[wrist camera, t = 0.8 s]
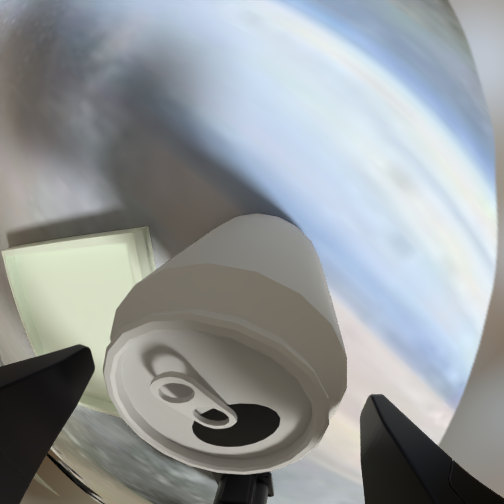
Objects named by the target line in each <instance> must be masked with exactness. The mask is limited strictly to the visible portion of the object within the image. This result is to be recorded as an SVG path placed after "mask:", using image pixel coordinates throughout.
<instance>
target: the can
mask: <svg viewBox="0 0 504 504" xmlns="http://www.w3.org/2000/svg"><path fill="white" fill-rule="evenodd" d="M110 340H111V342H110V344H109V345H108V346H107V348H106V353H105V359H104V364H103V375H104V379H105V383H106V388H107V392H108V395H109V397H110V399H111V401H112V402H113V404H114V406H115V408H116V409H117V411H118V413H119V414H120V416H121V418H122V419H123V420H124V421H125V422H126V423H127V424H128V425H129V426H130V427H131V428H132V429H133V431H134V432H135V433H136V434H137V435H138V436H139V437H140V438H142V439H143V440H144V441H146V442H147V443H149V444H150V445H152V446H153V447H154V448H156V449H157V450H159V451H160V452H162V453H163V454H165V455H167V456H169V457H172V458H174V459H176V460H178V461H180V462H183V463H185V464H187V465H190V466H193V467H197V468H200V469H204V470H208V471H212V472H217V473H227V474H244V475H246V474H255V473H262V472H269V471H274V470H276V469H279V468H282V467H284V466H287V465H290V464H292V463H294V462H297V461H299V460H300V459H301V458H303V457H304V456H305V455H306V454H308V453H309V452H310V451H311V450H313V449H314V448H315V447H316V446H317V445H318V444H319V442H320V440H321V439H322V437H323V435H324V433H325V431H326V429H327V427H328V425H329V419H330V418H331V417H332V416H333V415H334V414H335V412H336V410H337V408H338V406H339V404H340V402H341V399H342V397H343V395H344V393H345V391H346V388H347V357H346V353H345V348H344V344H343V341H342V337H341V333H340V329H339V325H338V321H337V318H336V314H335V310H334V307H333V303H332V299H331V296H330V292H329V289H328V286H327V282H326V279H325V275H324V272H323V269H322V265H321V262H320V259H319V257H318V255H317V253H316V250H315V248H314V246H313V244H312V242H311V241H310V240H309V239H308V238H307V236H306V235H305V234H304V233H303V232H302V231H301V230H300V229H299V228H298V227H297V226H295V225H293V224H291V223H289V222H287V221H285V220H283V219H282V218H280V217H277V216H271V215H265V214H259V213H255V214H249V215H242V216H236V217H234V218H233V219H231V220H229V221H227V222H225V223H223V224H221V225H219V226H218V227H216V228H215V229H213V230H212V231H210V232H209V233H208V234H206V235H205V236H203V237H202V238H200V239H199V240H197V241H196V242H194V243H193V244H192V245H190V246H189V247H187V248H186V249H184V250H183V251H182V252H180V253H179V254H177V255H176V256H174V257H173V258H172V259H170V260H169V261H167V262H166V263H165V264H163V265H162V266H160V267H159V268H158V269H156V270H155V271H154V272H152V273H151V274H149V275H148V276H147V277H145V278H144V279H143V280H141V281H140V282H138V283H137V284H136V285H134V287H133V288H132V289H131V290H130V292H129V293H128V294H127V296H126V297H125V298H124V300H123V301H122V302H121V304H120V305H119V306H118V308H117V309H116V312H115V316H114V321H113V325H112V330H111V335H110Z"/></svg>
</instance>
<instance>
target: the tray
mask: <svg viewBox="0 0 504 504" xmlns="http://www.w3.org/2000/svg"><path fill="white" fill-rule="evenodd" d="M1 252H2V256H3V261H4V265H5V269H6V273H7V277H8V280H9V284H10V287H11V291H12V294H13V297H14V301H15V304H16V307H17V310H18V312H19V315H20V318H21V321H22V324H23V326H24V329H25V331H26V334H27V336H28V339H29V341H30V344H31V346H32V348H33V351H34V353H35V355H36V357H37V356H41V355H44V354H47V353H51V352H54V351H58V350H61V349H64V348H68V347H71V346H74V345H77V344H82V345H84V346H87V347H89V348H90V350H91V353H92V357H93V360H94V364H95V371H94V373H93V375H92V377H91V379H90V381H89V383H88V385H87V387H86V389H85V391H84V393H83V395H82V397H81V399H80V401H79V402H78V405H81V406H84V407H87V408H90V409H93V410H96V411H99V412H103V413H106V414H109V415H113V416H117V417H120V418H121V416H120V414H119V413H118V411H117V409H116V408H115V406H114V404H113V402H112V401H111V399H110V397H109V395H108V392H107V388H106V383H105V379H104V375H103V364H104V359H105V353H106V348H107V346H108V345H109V344H110V342H111V340H110V335H111V330H112V325H113V321H114V316H115V312H116V309H117V308H118V306H119V305H120V304H121V302H122V301H123V300H124V298H125V297H126V296H127V294H128V293H129V292H130V290H131V289H132V288H133V287H134V285H136V284H137V283H138V282H140V281H141V280H143V279H144V278H145V277H147V276H148V275H149V274H151V273H152V272H154V271H155V270H156V266H155V260H154V255H153V250H152V244H151V238H150V232H149V226H148V227H140V228H132V229H124V230H117V231H109V232H102V233H95V234H88V235H81V236H74V237H67V238H61V239H55V240H48V241H42V242H36V243H30V244H24V245H19V246H14V247H11V248H9V249H6V250H3V251H1Z"/></svg>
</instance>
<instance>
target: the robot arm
mask: <svg viewBox="0 0 504 504" xmlns="http://www.w3.org/2000/svg"><path fill="white" fill-rule="evenodd" d="M94 371H95V364H94V360H93V357H92V353H91V350H90V348H89V347H87V346H84V345H82V344H77V345H74V346H71V347H68V348H64V349H61V350H58V351H54V352H51V353H47V354H44V355H41V356H37V357H34V358H30V359H26V360H23V361H19V362H16V363H12V364H8V365H5V366H1V367H0V504H20V502H21V500H22V498H23V496H24V494H25V492H26V490H27V489H28V487H29V485H30V483H31V481H32V479H33V477H34V476H35V474H36V472H37V470H38V468H39V467H40V465H41V463H42V461H43V460H44V458H45V456H46V455H47V453H48V451H49V449H50V448H51V446H52V444H53V443H54V441H55V439H56V438H57V436H58V435H59V433H60V431H61V430H62V428H63V427H64V425H65V423H66V422H67V420H68V419H69V417H70V415H71V414H72V412H73V411H74V409H75V408H76V406H77V404H78V402H79V401H80V399H81V397H82V395H83V393H84V391H85V389H86V387H87V385H88V383H89V381H90V379H91V377H92V375H93V373H94ZM360 441H361V469H362V477H363V487H364V497H365V504H504V498H502V497H501V496H500V495H498V494H496V493H495V492H494V491H492V490H491V489H489V488H488V487H486V486H485V485H483V484H482V483H481V482H479V481H478V480H477V479H475V478H474V477H473V476H471V475H470V474H469V473H468V472H466V471H465V470H464V469H463V468H462V467H460V466H459V464H457V463H456V462H455V461H452V458H451V457H450V456H448V455H447V454H446V453H445V452H444V451H443V450H442V449H441V448H440V447H439V446H438V445H437V444H435V443H434V442H433V441H432V440H431V439H430V438H429V437H428V436H427V435H426V434H425V433H424V432H422V431H421V430H420V429H419V428H418V427H417V426H416V425H415V424H414V423H413V422H412V421H411V420H410V419H408V418H407V417H406V416H405V415H404V414H403V413H402V412H401V411H400V410H399V409H398V408H397V407H396V406H395V405H393V404H392V403H391V402H390V401H389V400H388V399H387V398H386V397H385V396H384V395H382V394H372V395H370V396H369V397H368V398H367V401H366V403H365V405H364V408H363V410H362V412H361V416H360ZM212 473H213V475H214V477H215V479H216V481H217V484H218V489H217V492H216V496H215V499H214V503H213V504H267V497H272V496H274V490H273V482H272V475H271V473H269V472H262V473H255V474H246V475H244V474H227V473H217V472H212Z"/></svg>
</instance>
